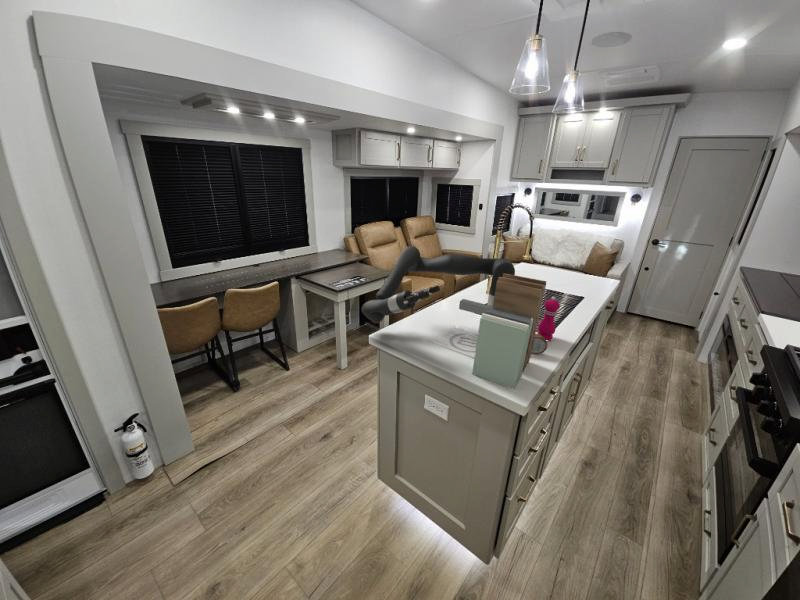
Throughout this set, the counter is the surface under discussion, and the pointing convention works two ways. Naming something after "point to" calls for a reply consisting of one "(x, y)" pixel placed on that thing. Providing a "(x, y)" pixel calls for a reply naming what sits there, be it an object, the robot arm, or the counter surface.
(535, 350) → the tin
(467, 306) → the bar
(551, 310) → the pepper mill
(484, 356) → the sage green box
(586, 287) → the counter surface
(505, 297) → the walnut post
